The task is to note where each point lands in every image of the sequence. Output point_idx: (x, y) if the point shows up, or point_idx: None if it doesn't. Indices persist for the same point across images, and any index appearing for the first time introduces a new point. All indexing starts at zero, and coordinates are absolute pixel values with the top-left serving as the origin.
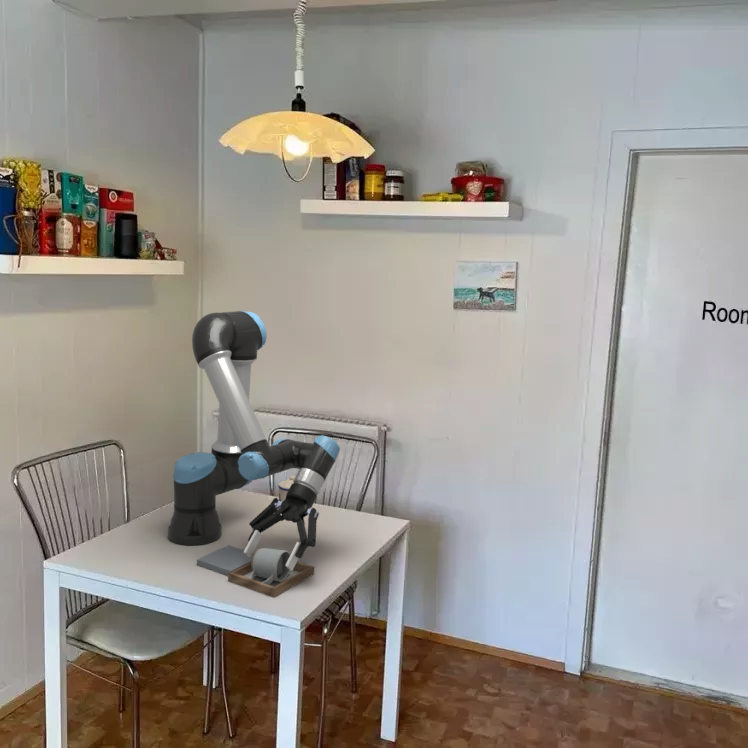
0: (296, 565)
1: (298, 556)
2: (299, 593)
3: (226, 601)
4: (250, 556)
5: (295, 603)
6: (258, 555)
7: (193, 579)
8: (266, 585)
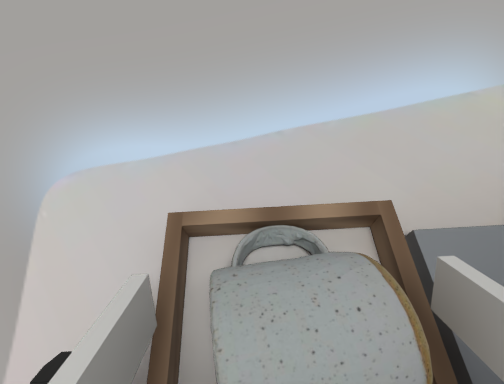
0: None
1: (62, 357)
2: None
3: (270, 134)
4: (433, 307)
5: (93, 236)
6: (348, 265)
7: (452, 158)
8: (210, 215)
